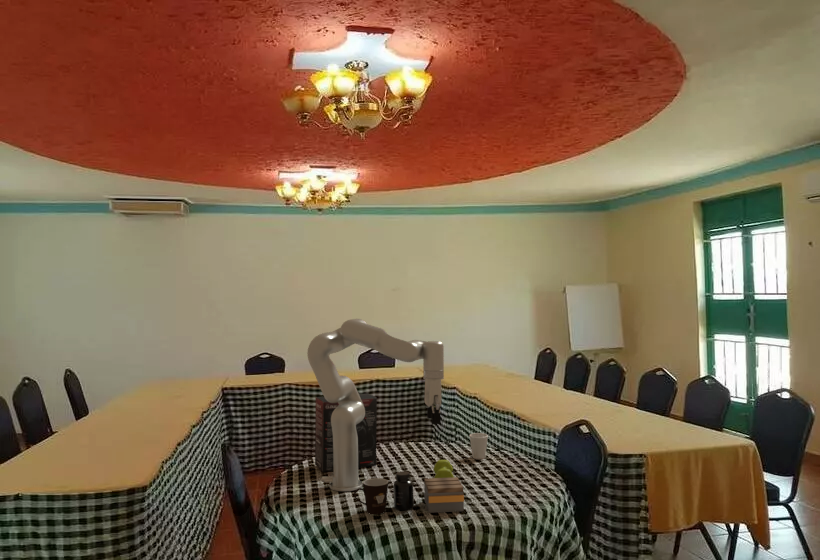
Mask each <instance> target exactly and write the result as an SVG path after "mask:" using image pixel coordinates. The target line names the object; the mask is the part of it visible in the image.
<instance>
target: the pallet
mask: <svg viewBox="0 0 820 560" xmlns="http://www.w3.org/2000/svg"><path fill="white" fill-rule="evenodd" d="M423 481H424V483H425V486H426V488H427V491H428V493H447V492H463V493H464V486H463V484H462V482H461V481H460V479H459V478H458V477H457V476H456V477H455V476H454V477H452V478H434V477H431V478H430V477H429V478H424V480H423Z"/></svg>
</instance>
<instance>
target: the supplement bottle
mask: <svg viewBox="0 0 820 560" xmlns="http://www.w3.org/2000/svg"><path fill="white" fill-rule="evenodd" d="M395 479H396V480H395V481H394V482H393V508H394V509H395V510H397V511H400V510H402V511H404V510H406V511H410V510H412V509H413V508H414V507H415V506H414V500H415V499H414V484H413V483H414V482H413V480H411V473H410V472H409V471H403V470H402V471H397V472H396V473H395ZM402 511H401V512H402ZM404 512H405V511H404Z"/></svg>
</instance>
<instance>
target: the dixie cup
mask: <svg viewBox="0 0 820 560" xmlns="http://www.w3.org/2000/svg"><path fill="white" fill-rule="evenodd" d="M488 438H489V434H487V433H483V432H474V433H470V434H469V441H470V447H471V448H470V449H471V455H472V458H473V459H474V460H484V459H486V457H487V455H486V454H487V447H488V446H487V445H488Z"/></svg>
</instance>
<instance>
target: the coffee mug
mask: <svg viewBox="0 0 820 560" xmlns="http://www.w3.org/2000/svg"><path fill="white" fill-rule="evenodd" d="M388 489H389V480H388V479H385V478H378V477H377V478H374V477H373V478H368V479H365V480H363V481H362V487H361V488H358V489H357V490H354V492H353V497H354V499H355V500H356V501H357V502H359V503H360V504H363V505H365V509H366V513H367V512H368V513H370V514H369V515H372V514H379V515H382V514H381V513H383V512H385V513H386V509H387V499H388ZM358 491H362V492H363V494H364V499H365V500H364V501H365V502H364V501H362V500H361V499H359V498H358V497H357V495H356V494H357V492H358ZM368 513H367V514H368ZM383 514H384V513H383Z"/></svg>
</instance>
